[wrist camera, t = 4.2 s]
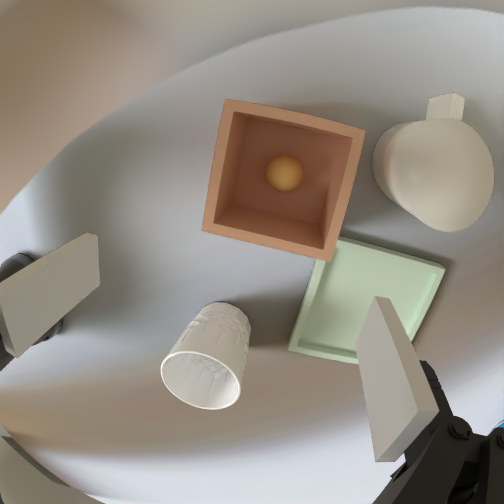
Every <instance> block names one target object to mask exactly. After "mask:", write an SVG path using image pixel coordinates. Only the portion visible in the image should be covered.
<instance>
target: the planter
mask: <svg viewBox="0 0 504 504" xmlns="http://www.w3.org/2000/svg"><path fill="white" fill-rule="evenodd" d="M365 134H366V130H363V129H360V128H357V127H353V126H350V125H346V124H343V123H339V122H336V121H332V120H328V119H324V118H320V117H316V116H312V115H308V114H304V113H299V112H295V111H290V110H286V109H281V108H276V107H271V106H266V105H260V104H255V103H249V102H242V101H236V100H229V99H225V101H224V106H223V111H222V116H221V121H220V126H219V131H218V136H217V142H216V147H215V152H214V158H213V164H212V169H211V175H210V181H209V187H208V193H207V199H206V205H205V212H204V218H203V225H202V231H204V232H208V233H213V234H217V235H221V236H225V237H229V238H233V239H238V240H242V241H246V242H250V243H254V244H258V245H262V246H266V247H271V248H275V249H279V250H283V251H287V252H291V253H295V254H299V255H303V256H307V257H311V258H315V259H319V260H323V261H327V262H331V259H332V256H333V253H334V250H335V247H336V243H337V240H338V237H339V233H340V230H341V227H342V223H343V220H344V216H345V213H346V209H347V205H348V202H349V198H350V195H351V191H352V187H353V183H354V179H355V175H356V172H357V168H358V164H359V159H360V155H361V151H362V147H363V143H364V138H365ZM280 155H289V156H292V157H294V158H295V159H296V160H298V162H299V163H300V164H301V166H302V170H303V177H302V180H301V182H300V184H299V185H298V186H297V187H296V188H294V189H293V190H290V191H280V190H277V189H275V188H273V187H272V186H271V185H270V183H269V182H268V180H267V177H266V169H267V166H268V164H269V162H270V161H271V160H272V159H273V158H275V157H277V156H280Z"/></svg>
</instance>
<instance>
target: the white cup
mask: <svg viewBox="0 0 504 504" xmlns="http://www.w3.org/2000/svg"><path fill="white" fill-rule="evenodd" d="M250 333H251V326H250V323H249V320H248V317H247V316H246V315H245V314H244V313H243V312H242V311H241V310H240V309H239V308H237V307H235V306H233V305H231V304H228V303H219V302H214V303H211V304H209V305H206V306H204V307H203V308H202V309H201V310H200V312H199V313H198V314H197V316H196V317H195V319H194V320H192V321H191V322H190V324H189V325H188V326H187V328H186V329H185V330H184V332H183V333H182V335H181V336H180V338H179V339H178V340H177V342H176V343H175V345H174V346H173V348H172V349H171V351H170V352H169V354H168V355H167V356H166V358H165V359H164V361H163V363H162V365H161V376H162V379H163V381H164V383H165V385H166V386H167V388H168V389H169V390H170V391H171V392H172V393H173V394H174V395H175V396H176V397H178V398H179V399H181V400H182V401H184V402H186V403H188V404H190V405H192V406H195V407H199V408H203V409H222V408H226V407H228V406H230V405H232V404H234V403H235V402H236V401H237V400H238V398H239V396H240V393H241V388H242V383H243V378H244V372H245V367H246V362H247V357H248V349H249V337H250Z"/></svg>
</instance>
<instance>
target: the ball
mask: <svg viewBox="0 0 504 504" xmlns="http://www.w3.org/2000/svg"><path fill="white" fill-rule="evenodd" d="M266 177H267V180H268V182H269V183H270V185H271V186H272V187H273V188H275V189H277V190H280V191H290V190H293V189H294V188H296V187H297V186H298V185H299V184H300V182H301V180H302V177H303V170H302V166H301V164H300V163H299V162H298V160H296V159H295V158H294V157H292V156H289V155H280V156H277V157H275V158H273V159H272V160H271V161H270V162H269V164H268V166H267V169H266Z"/></svg>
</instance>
